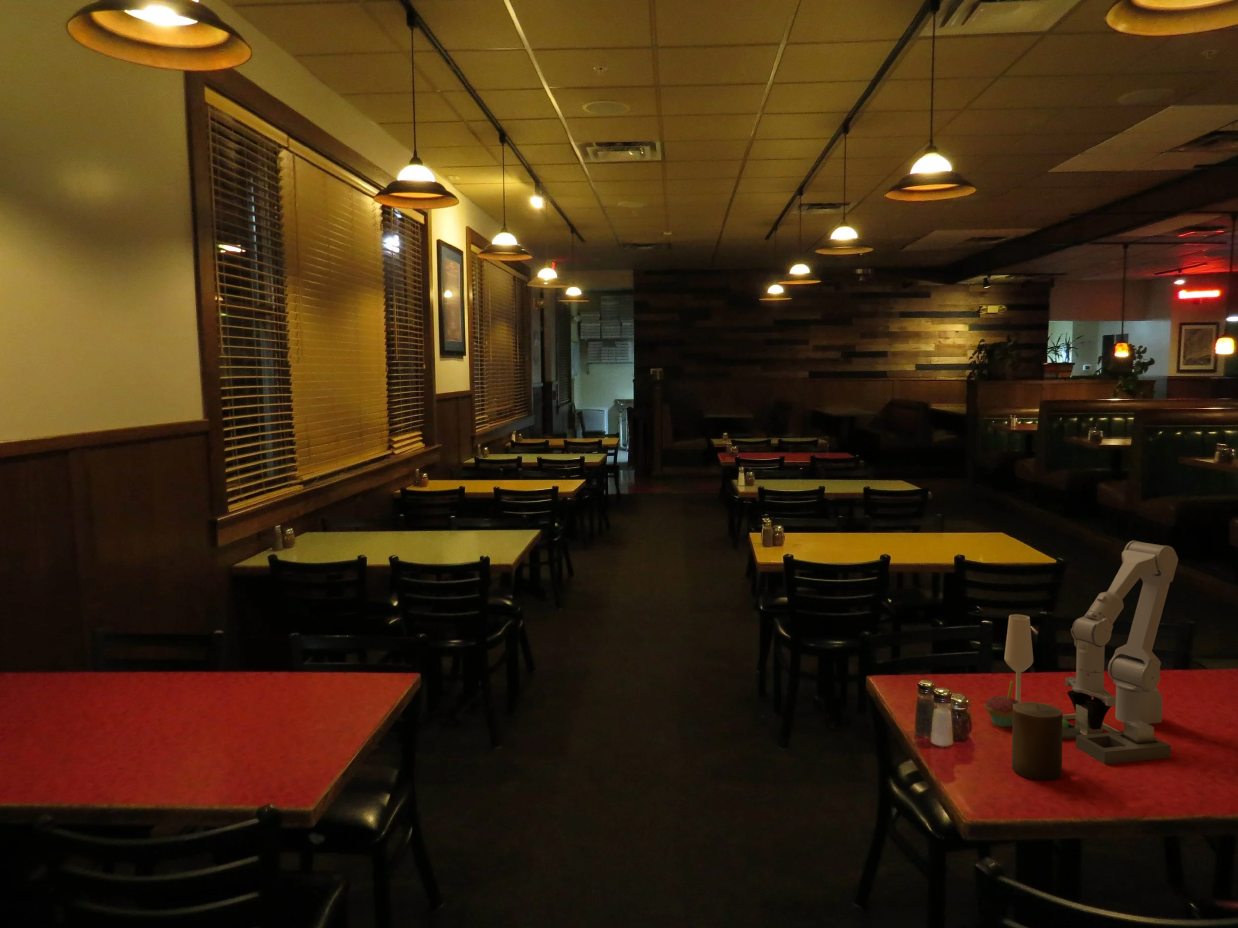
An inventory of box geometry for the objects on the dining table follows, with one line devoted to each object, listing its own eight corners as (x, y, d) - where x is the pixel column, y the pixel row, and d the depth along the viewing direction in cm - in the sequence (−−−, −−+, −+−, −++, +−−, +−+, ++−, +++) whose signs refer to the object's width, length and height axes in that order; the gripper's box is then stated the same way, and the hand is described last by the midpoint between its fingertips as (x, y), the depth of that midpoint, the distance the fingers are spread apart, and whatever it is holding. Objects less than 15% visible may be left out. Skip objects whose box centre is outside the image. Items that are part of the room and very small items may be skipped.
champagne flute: (1024, 703, 222) (1025, 613, 220) (1037, 713, 215) (1039, 619, 213) (998, 704, 221) (999, 613, 219) (1011, 714, 215) (1012, 620, 213)
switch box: (1062, 730, 204) (1062, 718, 203) (1079, 740, 198) (1080, 728, 197) (1039, 732, 203) (1039, 720, 202) (1056, 742, 197) (1056, 730, 197)
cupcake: (1020, 720, 210) (1021, 673, 209) (1024, 733, 202) (1025, 684, 201) (982, 717, 213) (983, 670, 212) (985, 730, 205) (986, 681, 204)
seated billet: (1139, 745, 192) (1140, 720, 192) (1153, 753, 188) (1153, 726, 188) (1123, 747, 192) (1124, 721, 191) (1136, 754, 188) (1137, 728, 187)
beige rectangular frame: (1083, 719, 210) (1084, 712, 210) (1126, 742, 196) (1126, 734, 196) (1050, 722, 209) (1050, 715, 208) (1090, 745, 195) (1091, 738, 195)
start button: (1061, 731, 202) (1061, 717, 202) (1071, 737, 199) (1072, 723, 198) (1047, 732, 202) (1047, 718, 201) (1057, 738, 198) (1057, 724, 198)
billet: (1090, 726, 204) (1091, 702, 204) (1102, 733, 200) (1103, 708, 200) (1075, 728, 204) (1075, 703, 203) (1087, 734, 200) (1087, 709, 199)
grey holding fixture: (1138, 744, 195) (1139, 729, 195) (1170, 760, 186) (1170, 745, 186) (1075, 750, 193) (1075, 735, 192) (1104, 767, 184) (1104, 751, 183)
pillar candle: (1059, 785, 176) (1061, 714, 175) (1008, 774, 181) (1009, 705, 180) (1063, 767, 184) (1065, 700, 183) (1014, 758, 190) (1015, 692, 188)
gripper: (1054, 660, 207) (1053, 714, 208) (1096, 680, 193) (1095, 738, 194) (1080, 658, 208) (1079, 712, 209) (1124, 677, 194) (1123, 735, 195)
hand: (1088, 724), depth 202 cm, fingers closed on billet, 4 cm apart
